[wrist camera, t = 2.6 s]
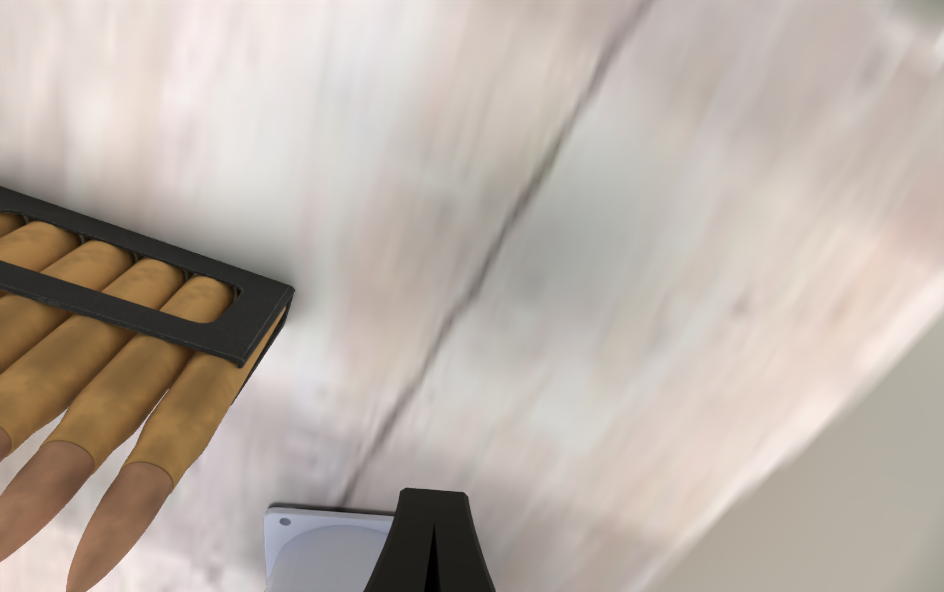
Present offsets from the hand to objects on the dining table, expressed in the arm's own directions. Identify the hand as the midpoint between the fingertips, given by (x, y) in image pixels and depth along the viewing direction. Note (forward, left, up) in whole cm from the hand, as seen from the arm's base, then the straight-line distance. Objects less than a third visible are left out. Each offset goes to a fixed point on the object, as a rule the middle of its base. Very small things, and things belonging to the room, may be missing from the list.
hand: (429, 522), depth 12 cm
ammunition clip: (+11, 0, -11) cm, 15 cm away
